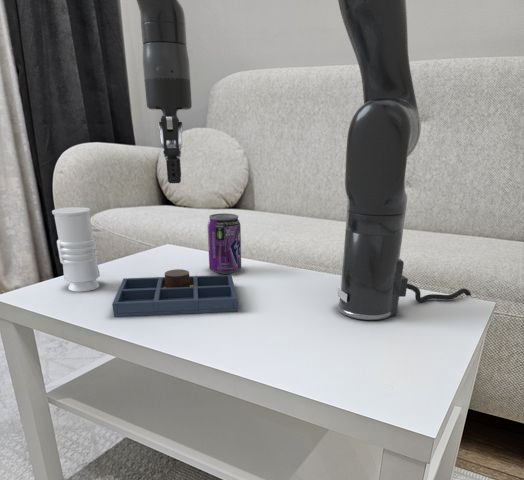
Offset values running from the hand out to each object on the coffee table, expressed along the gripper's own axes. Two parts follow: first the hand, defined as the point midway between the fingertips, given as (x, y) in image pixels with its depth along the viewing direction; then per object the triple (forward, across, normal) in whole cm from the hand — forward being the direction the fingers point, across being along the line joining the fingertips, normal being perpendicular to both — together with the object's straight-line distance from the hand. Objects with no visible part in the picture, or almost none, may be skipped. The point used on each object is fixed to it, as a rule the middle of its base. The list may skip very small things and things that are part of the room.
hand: (175, 180), depth 86 cm
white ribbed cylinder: (+21, +4, +20) cm, 29 cm away
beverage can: (+21, +12, -9) cm, 25 cm away
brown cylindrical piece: (+20, -3, +1) cm, 20 cm away
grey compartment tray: (+20, -7, +1) cm, 22 cm away
